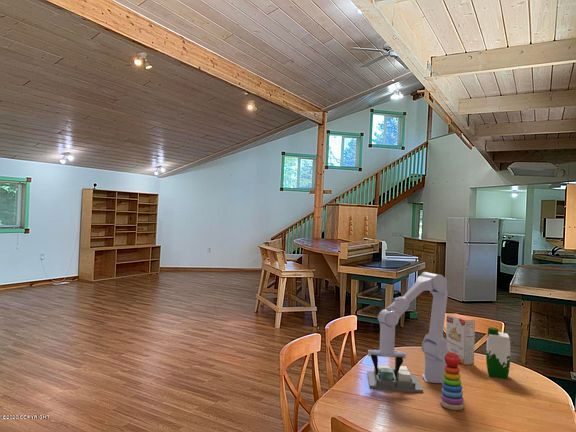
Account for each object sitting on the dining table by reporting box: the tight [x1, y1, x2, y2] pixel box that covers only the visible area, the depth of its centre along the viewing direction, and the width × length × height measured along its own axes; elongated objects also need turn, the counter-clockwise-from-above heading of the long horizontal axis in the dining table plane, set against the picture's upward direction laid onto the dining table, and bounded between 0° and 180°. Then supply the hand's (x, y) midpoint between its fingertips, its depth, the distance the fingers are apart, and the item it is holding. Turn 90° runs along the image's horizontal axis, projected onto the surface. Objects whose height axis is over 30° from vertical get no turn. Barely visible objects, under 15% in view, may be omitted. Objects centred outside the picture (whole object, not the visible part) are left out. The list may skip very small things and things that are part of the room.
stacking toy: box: [439, 352, 465, 411], centre depth 147 cm, size 8×8×19 cm
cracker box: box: [445, 313, 476, 366], centre depth 198 cm, size 14×6×21 cm, turn 14°
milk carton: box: [485, 327, 511, 381], centre depth 179 cm, size 9×9×20 cm
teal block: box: [380, 367, 393, 381], centre depth 164 cm, size 4×4×5 cm
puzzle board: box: [366, 364, 424, 394], centre depth 167 cm, size 20×16×6 cm
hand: (386, 375), depth 164 cm, fingers open, 7 cm apart
